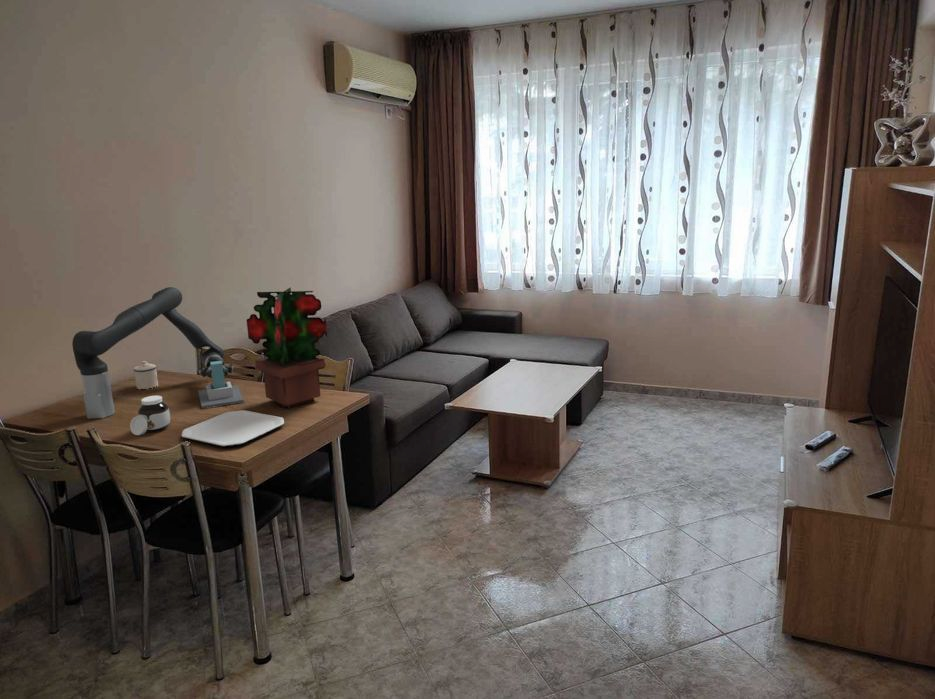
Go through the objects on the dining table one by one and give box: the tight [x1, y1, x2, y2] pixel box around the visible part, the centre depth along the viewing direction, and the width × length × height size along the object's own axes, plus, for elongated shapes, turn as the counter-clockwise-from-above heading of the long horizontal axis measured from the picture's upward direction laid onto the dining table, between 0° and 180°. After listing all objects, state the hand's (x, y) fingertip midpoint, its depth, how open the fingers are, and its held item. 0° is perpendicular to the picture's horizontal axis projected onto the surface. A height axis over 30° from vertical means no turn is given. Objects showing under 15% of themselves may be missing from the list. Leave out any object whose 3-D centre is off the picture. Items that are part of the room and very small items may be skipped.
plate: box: [180, 409, 285, 448], centre depth 240 cm, size 29×29×2 cm
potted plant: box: [246, 287, 328, 408], centre depth 265 cm, size 22×22×45 cm
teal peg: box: [210, 361, 226, 389], centre depth 275 cm, size 4×4×14 cm
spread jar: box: [129, 395, 171, 436], centre depth 241 cm, size 12×11×12 cm
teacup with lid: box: [133, 360, 159, 390], centre depth 294 cm, size 12×9×12 cm
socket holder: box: [197, 380, 245, 409], centre depth 277 cm, size 22×16×5 cm
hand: (218, 374), depth 272 cm, fingers open, 5 cm apart
